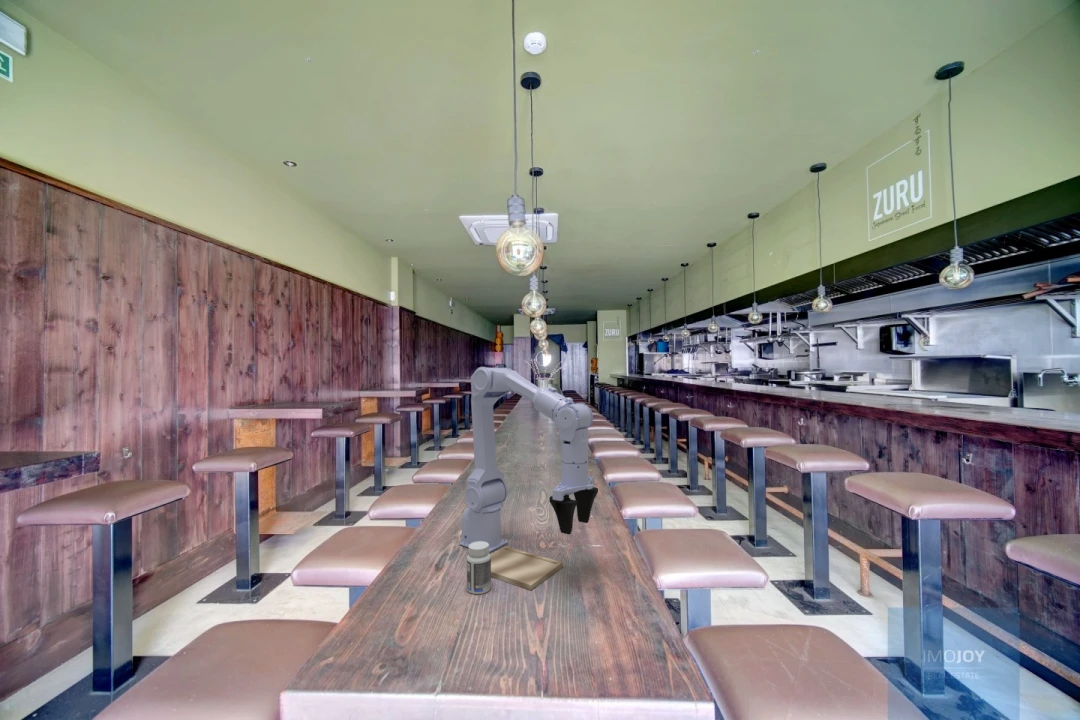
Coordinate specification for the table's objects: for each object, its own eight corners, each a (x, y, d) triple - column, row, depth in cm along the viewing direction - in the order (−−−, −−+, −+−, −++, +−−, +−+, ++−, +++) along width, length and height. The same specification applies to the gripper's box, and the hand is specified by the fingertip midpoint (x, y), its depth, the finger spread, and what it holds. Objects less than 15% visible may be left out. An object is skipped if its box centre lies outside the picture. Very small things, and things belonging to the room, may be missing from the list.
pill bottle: (495, 584, 82) (495, 541, 82) (484, 596, 77) (484, 551, 78) (473, 581, 83) (473, 539, 84) (461, 592, 79) (462, 547, 79)
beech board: (470, 569, 88) (470, 564, 88) (505, 550, 98) (505, 545, 98) (531, 590, 79) (531, 584, 79) (562, 567, 89) (562, 561, 89)
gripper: (574, 469, 78) (575, 543, 77) (606, 457, 90) (607, 520, 89) (543, 465, 82) (543, 535, 81) (578, 454, 94) (578, 515, 93)
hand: (574, 527), depth 85 cm, fingers open, 7 cm apart
